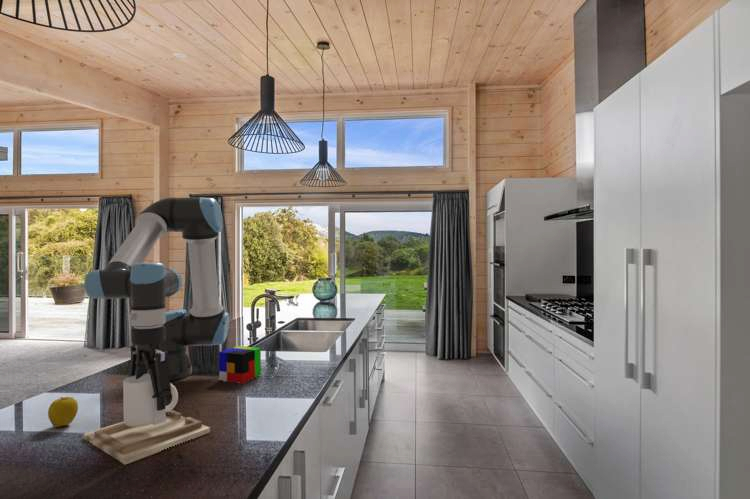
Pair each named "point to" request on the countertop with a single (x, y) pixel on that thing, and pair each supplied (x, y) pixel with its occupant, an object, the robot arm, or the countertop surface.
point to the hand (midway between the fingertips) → (149, 418)
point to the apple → (62, 411)
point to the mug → (141, 400)
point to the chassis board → (145, 437)
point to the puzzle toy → (239, 364)
